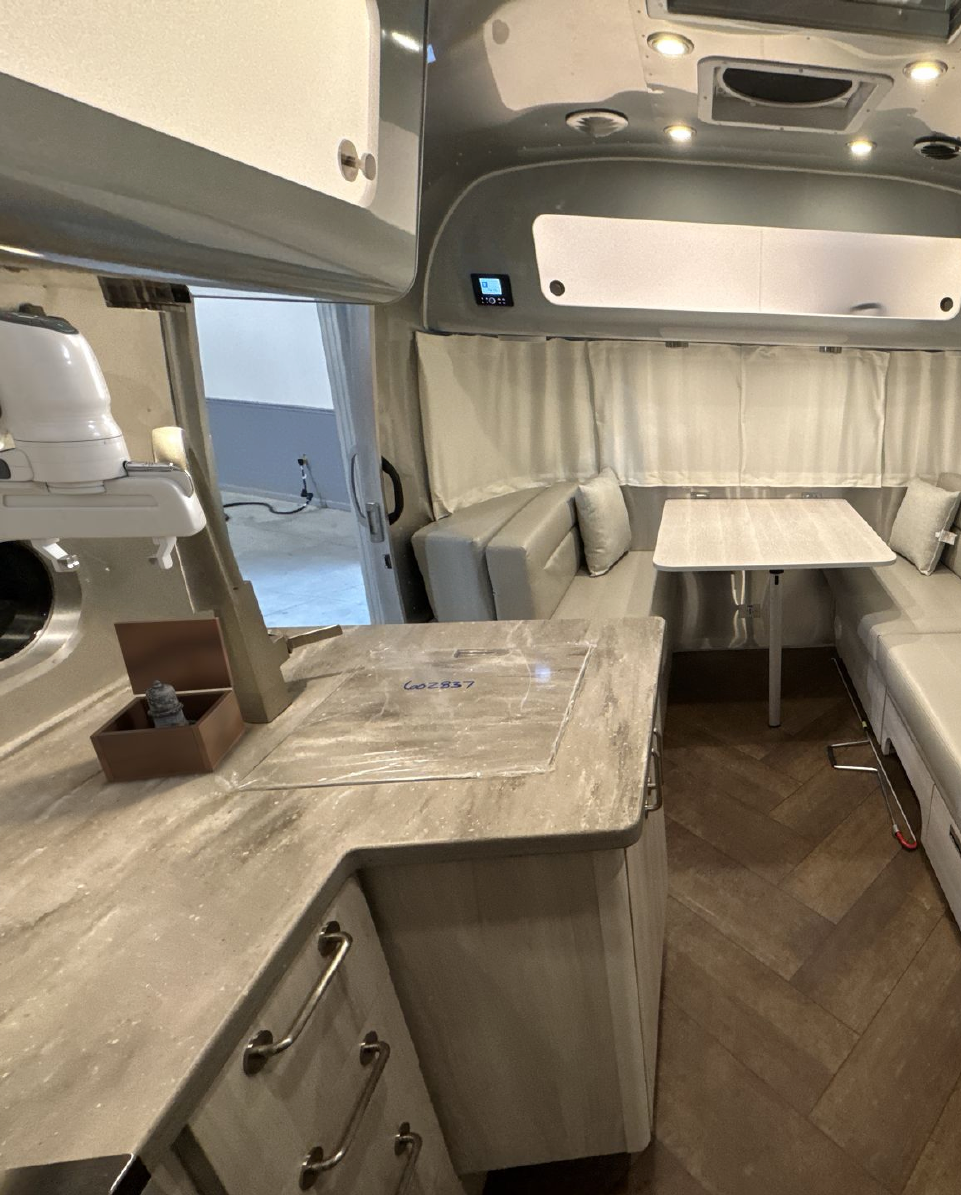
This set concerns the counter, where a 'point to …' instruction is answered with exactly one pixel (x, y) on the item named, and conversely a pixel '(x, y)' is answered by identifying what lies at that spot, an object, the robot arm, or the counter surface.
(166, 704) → the grey tiered ornament
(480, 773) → the counter surface
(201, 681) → the lid
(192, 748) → the bread box
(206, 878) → the counter surface
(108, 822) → the counter surface
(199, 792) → the counter surface
